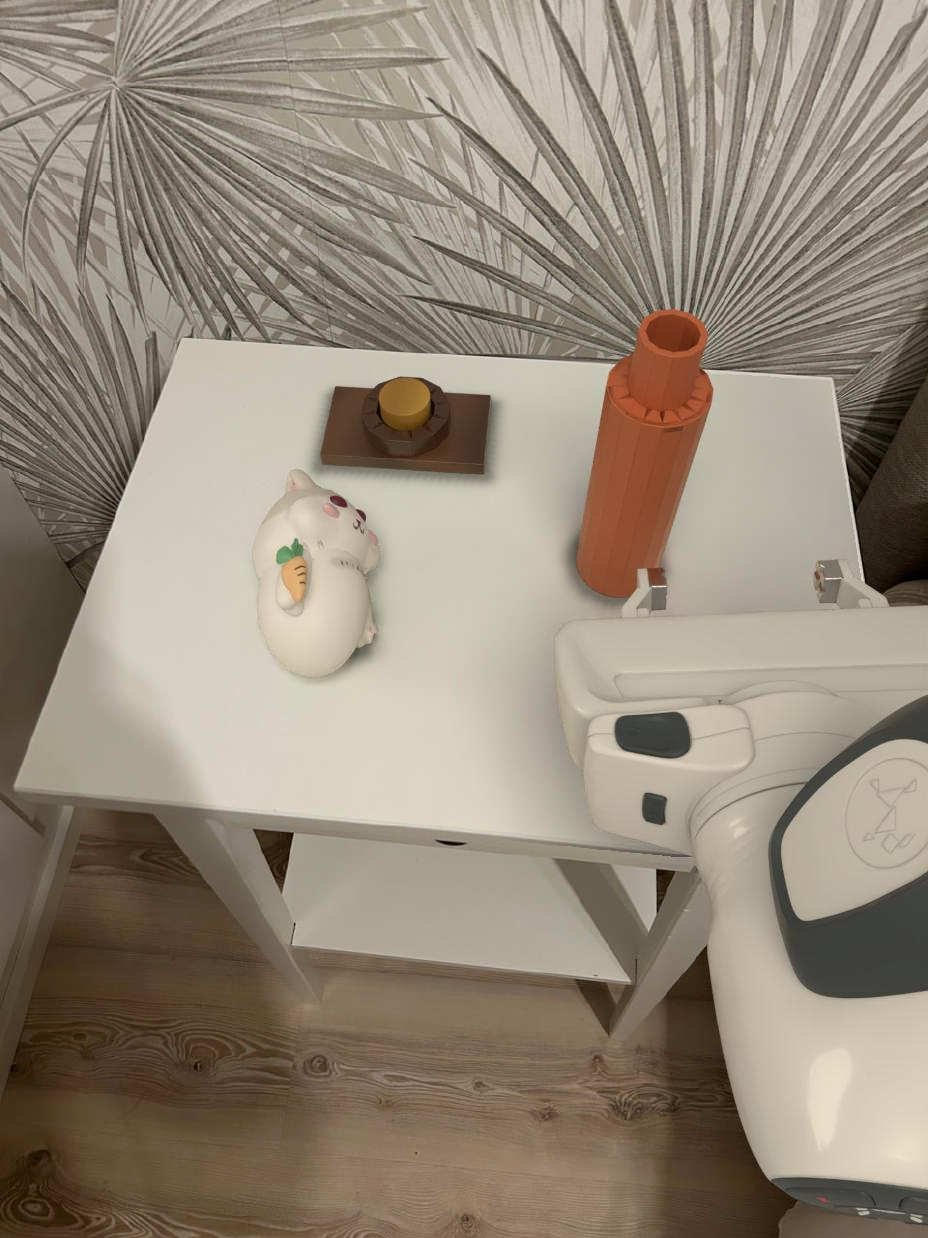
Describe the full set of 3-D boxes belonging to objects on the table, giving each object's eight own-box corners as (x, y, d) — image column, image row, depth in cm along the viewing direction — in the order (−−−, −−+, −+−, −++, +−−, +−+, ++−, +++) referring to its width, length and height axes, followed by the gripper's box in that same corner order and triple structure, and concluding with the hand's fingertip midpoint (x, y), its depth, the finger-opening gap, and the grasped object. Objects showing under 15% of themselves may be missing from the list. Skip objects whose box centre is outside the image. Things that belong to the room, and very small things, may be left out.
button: (433, 394, 72) (432, 378, 70) (428, 432, 70) (427, 416, 68) (384, 391, 72) (382, 375, 70) (377, 429, 70) (375, 413, 68)
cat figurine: (312, 636, 53) (307, 426, 59) (213, 670, 56) (217, 469, 62) (404, 676, 60) (391, 487, 66) (312, 704, 64) (307, 522, 70)
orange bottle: (645, 526, 68) (712, 288, 49) (666, 591, 65) (745, 366, 46) (568, 535, 68) (605, 300, 49) (585, 602, 65) (631, 379, 46)
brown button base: (490, 404, 75) (491, 378, 72) (483, 474, 71) (483, 449, 68) (336, 395, 75) (331, 369, 73) (322, 464, 72) (316, 439, 69)
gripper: (1071, 733, 35) (956, 516, 45) (552, 745, 38) (550, 537, 48) (1021, 821, 40) (926, 605, 49) (559, 827, 42) (555, 621, 52)
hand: (738, 572), depth 49 cm, fingers open, 8 cm apart
